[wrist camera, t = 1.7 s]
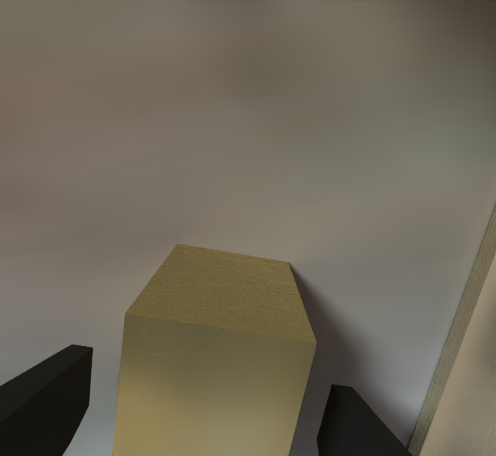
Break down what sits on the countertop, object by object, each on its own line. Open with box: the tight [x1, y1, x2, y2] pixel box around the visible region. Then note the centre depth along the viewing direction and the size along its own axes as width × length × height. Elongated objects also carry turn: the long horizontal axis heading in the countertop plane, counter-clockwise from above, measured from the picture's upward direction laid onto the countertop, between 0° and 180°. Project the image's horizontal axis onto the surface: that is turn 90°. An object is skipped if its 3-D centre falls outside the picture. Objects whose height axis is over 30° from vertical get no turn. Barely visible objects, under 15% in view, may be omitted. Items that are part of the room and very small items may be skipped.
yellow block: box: [112, 244, 317, 456], centre depth 9 cm, size 8×4×4 cm, turn 170°
